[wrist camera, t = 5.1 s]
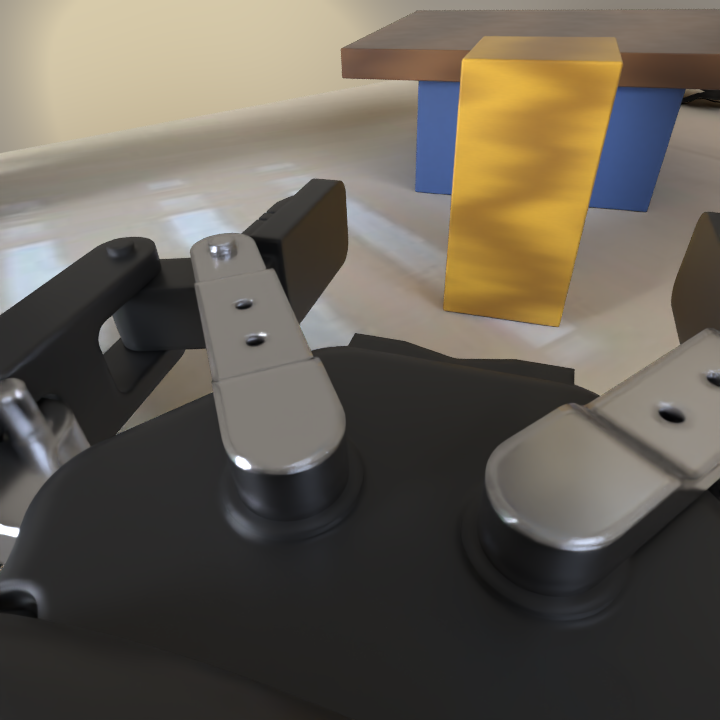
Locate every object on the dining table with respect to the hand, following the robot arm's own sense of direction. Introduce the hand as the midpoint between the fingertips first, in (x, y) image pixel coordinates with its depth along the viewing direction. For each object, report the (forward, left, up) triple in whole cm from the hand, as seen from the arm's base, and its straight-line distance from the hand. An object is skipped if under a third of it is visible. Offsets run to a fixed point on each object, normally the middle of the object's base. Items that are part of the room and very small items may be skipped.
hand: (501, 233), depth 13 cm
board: (-10, +27, -1) cm, 28 cm away
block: (-4, +10, -8) cm, 13 cm away
